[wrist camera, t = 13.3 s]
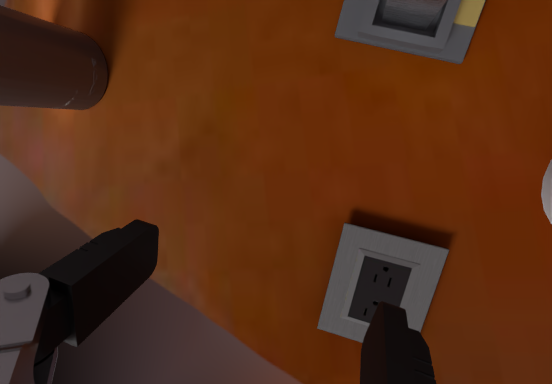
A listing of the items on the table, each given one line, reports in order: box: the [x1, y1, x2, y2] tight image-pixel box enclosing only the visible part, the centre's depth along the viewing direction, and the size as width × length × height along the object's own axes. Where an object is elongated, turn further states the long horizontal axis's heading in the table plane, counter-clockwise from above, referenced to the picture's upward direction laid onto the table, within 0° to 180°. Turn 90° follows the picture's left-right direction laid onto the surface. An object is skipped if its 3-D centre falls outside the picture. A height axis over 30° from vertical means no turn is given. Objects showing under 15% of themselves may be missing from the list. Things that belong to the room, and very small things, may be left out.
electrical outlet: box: [317, 223, 449, 343], centre depth 35 cm, size 13×10×2 cm
